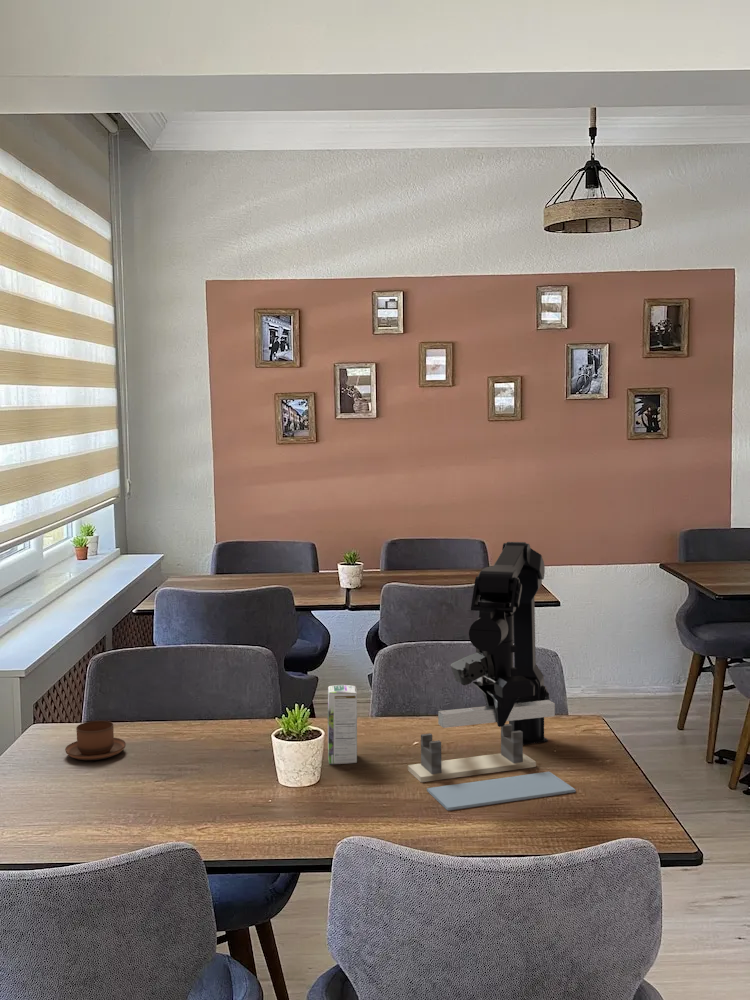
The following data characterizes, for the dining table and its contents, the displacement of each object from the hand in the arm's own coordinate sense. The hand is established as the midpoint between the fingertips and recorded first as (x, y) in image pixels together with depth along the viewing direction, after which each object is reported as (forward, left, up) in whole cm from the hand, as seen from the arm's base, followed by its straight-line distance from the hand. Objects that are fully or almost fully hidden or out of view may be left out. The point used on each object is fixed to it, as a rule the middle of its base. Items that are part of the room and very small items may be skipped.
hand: (497, 724), depth 185 cm
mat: (0, +1, -12) cm, 12 cm away
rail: (0, 0, +1) cm, 1 cm away
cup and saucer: (+68, -47, -13) cm, 84 cm away
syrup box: (+22, -26, -13) cm, 36 cm away
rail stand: (0, -12, -12) cm, 17 cm away
